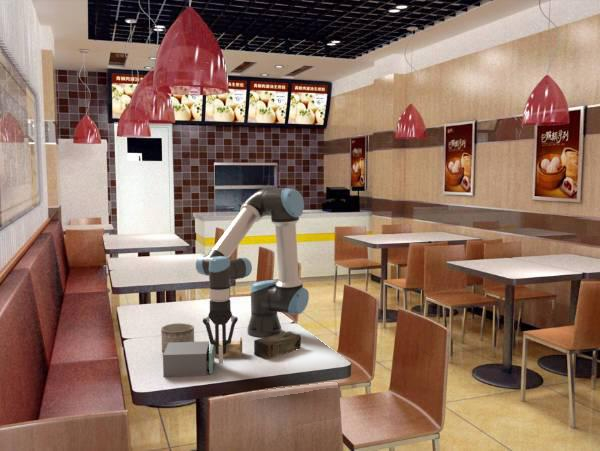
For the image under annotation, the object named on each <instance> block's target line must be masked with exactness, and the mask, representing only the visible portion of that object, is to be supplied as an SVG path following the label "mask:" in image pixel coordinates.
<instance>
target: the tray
mask: <svg viewBox="0 0 600 451" xmlns="http://www.w3.org/2000/svg"><path fill="white" fill-rule="evenodd" d="M214 366H215V357H214V345H212V344H210V345H209V361H207V369H208V371H209V372H208V374H211V375H212V374H213V370H214Z"/></svg>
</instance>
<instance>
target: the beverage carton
mask: <svg viewBox="0 0 600 451" xmlns="http://www.w3.org/2000/svg"><path fill="white" fill-rule="evenodd" d="M253 343H254V344H253V355H254V356H256V355H257V357H260V358H261V357H262V359H264V360H268V359H271V358H274V356H275V357H278V356H281V354H282V355H284V353H285V354H288V353H291V352H290V351H292V352H294V351H293V350H295V351H297V350H296V349H298V350H300V349H301V346H302V336H301V335H300V334H297V333H294V332H293V331H287V332H281V333H280V334H277V335H273V336H269V337H260V338H257V339H254V342H253ZM287 352H288V353H287ZM277 355H278V356H277ZM267 358H268V359H267Z"/></svg>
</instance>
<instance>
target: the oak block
mask: <svg viewBox="0 0 600 451" xmlns="http://www.w3.org/2000/svg"><path fill="white" fill-rule="evenodd" d="M213 339H214V340H215V338H213ZM219 344H223V342H222V340H219ZM239 356H242V357H243V337H240V338H239V340H231V343H230V344H227V345H226V354H223V358H235V357H236V358H238V357H239ZM214 358H219V354H216V347H215V345H214ZM239 358H240V357H239Z"/></svg>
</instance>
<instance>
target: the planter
mask: <svg viewBox="0 0 600 451" xmlns="http://www.w3.org/2000/svg"><path fill="white" fill-rule="evenodd" d="M160 331H161V332H160V333H161V334H160V335H161V352H162V354H164V352H165V349H166V347H167V345H168V343H171V342H195V326H194V325H193V324H191V323H185V322H184V323H183V322H176V323H170V324H166V325H164V326H161V330H160Z"/></svg>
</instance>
